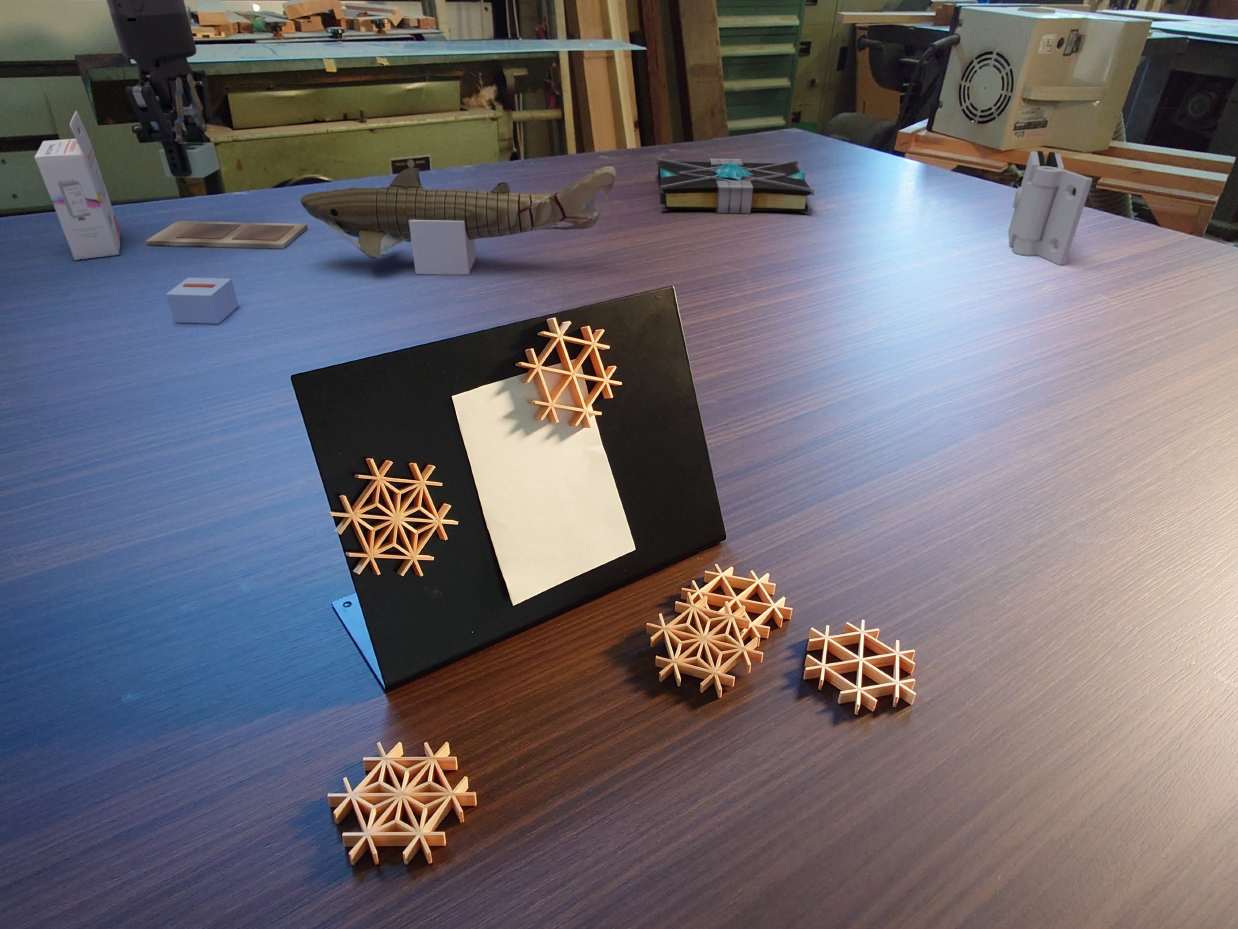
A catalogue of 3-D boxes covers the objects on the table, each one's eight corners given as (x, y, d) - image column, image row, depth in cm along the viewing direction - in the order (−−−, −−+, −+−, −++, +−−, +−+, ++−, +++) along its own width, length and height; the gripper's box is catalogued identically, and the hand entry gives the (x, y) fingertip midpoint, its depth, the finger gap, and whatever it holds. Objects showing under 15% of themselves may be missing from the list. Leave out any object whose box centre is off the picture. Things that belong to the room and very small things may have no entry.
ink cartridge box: (77, 239, 100) (30, 112, 92) (122, 234, 102) (80, 109, 94) (72, 261, 94) (21, 126, 85) (120, 255, 95) (75, 123, 87)
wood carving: (615, 280, 91) (616, 178, 84) (302, 277, 90) (280, 174, 84) (615, 253, 98) (616, 157, 92) (325, 250, 98) (307, 154, 91)
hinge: (1066, 266, 96) (1094, 179, 91) (1018, 263, 97) (1043, 177, 91) (1034, 229, 108) (1057, 150, 102) (992, 227, 108) (1013, 149, 103)
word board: (146, 245, 99) (144, 239, 98) (179, 225, 105) (177, 219, 105) (284, 248, 98) (282, 243, 98) (307, 228, 105) (306, 223, 104)
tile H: (166, 177, 96) (158, 149, 94) (184, 167, 99) (177, 141, 98) (203, 177, 96) (196, 150, 94) (220, 168, 99) (213, 141, 98)
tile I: (174, 322, 80) (164, 292, 78) (196, 305, 83) (187, 276, 82) (219, 324, 80) (210, 294, 78) (239, 306, 83) (231, 277, 82)
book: (794, 183, 126) (798, 150, 123) (813, 216, 112) (818, 178, 109) (655, 181, 126) (656, 147, 123) (656, 213, 112) (658, 176, 109)
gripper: (148, 2, 94) (190, 156, 103) (74, 13, 82) (130, 186, 91) (212, 3, 94) (248, 157, 103) (147, 14, 82) (195, 187, 91)
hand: (192, 169), depth 97 cm, fingers closed on tile H, 4 cm apart
